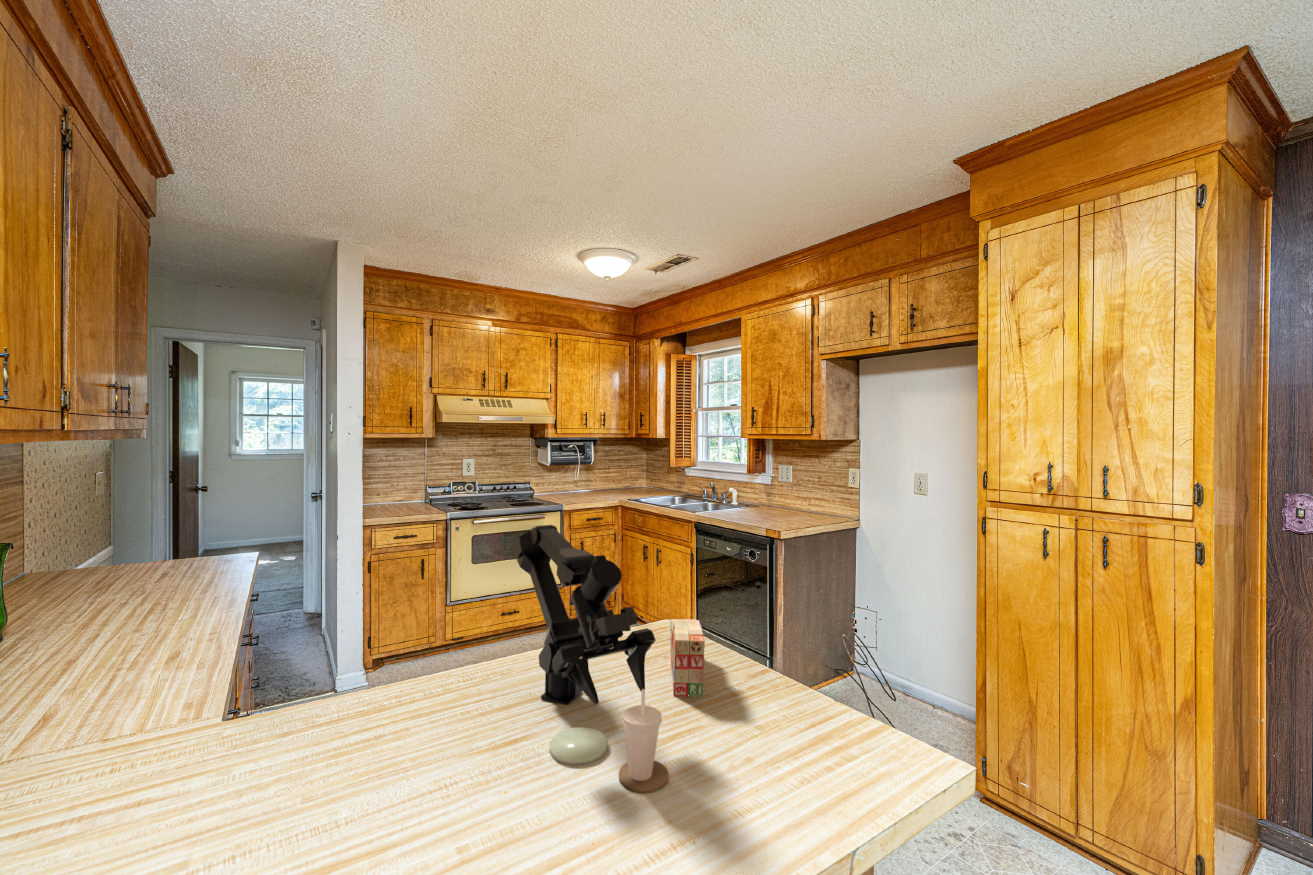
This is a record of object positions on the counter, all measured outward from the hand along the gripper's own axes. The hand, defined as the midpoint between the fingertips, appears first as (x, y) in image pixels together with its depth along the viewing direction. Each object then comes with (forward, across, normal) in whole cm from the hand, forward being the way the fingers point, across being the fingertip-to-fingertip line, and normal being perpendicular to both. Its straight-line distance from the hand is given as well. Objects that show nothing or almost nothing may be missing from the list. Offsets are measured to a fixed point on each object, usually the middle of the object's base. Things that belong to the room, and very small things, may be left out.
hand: (620, 696), depth 100 cm
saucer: (+4, -5, +10) cm, 12 cm away
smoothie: (+12, 0, +1) cm, 12 cm away
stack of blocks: (-6, +29, +21) cm, 36 cm away
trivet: (+12, 0, +1) cm, 13 cm away
